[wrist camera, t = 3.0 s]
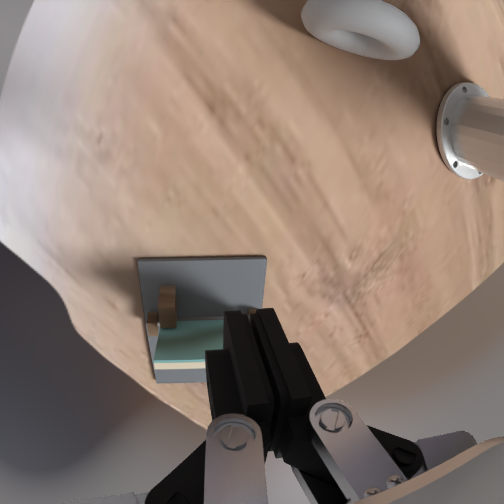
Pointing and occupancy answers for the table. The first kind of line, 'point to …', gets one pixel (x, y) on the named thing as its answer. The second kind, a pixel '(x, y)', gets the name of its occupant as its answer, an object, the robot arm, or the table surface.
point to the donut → (362, 27)
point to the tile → (187, 344)
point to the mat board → (201, 294)
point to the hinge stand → (172, 312)
